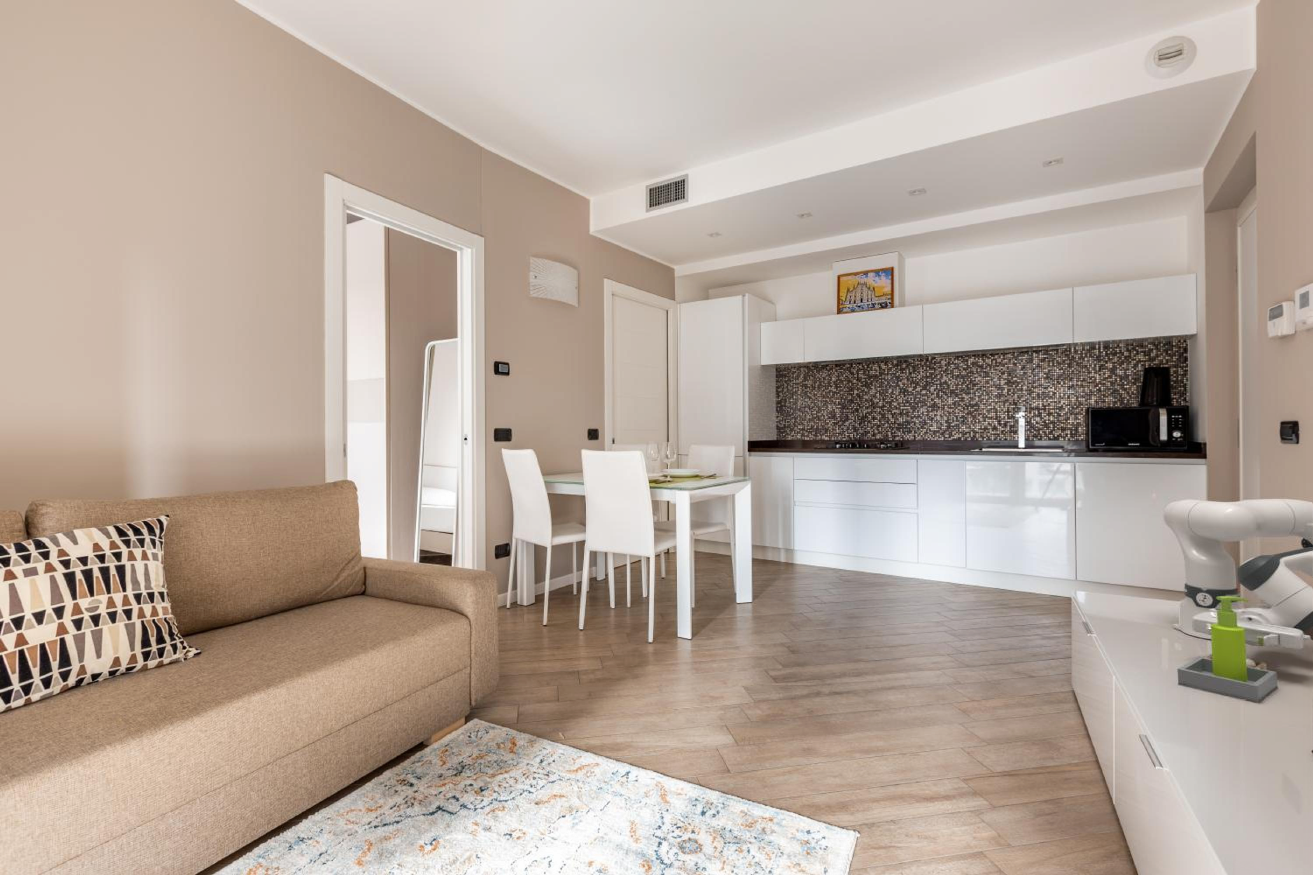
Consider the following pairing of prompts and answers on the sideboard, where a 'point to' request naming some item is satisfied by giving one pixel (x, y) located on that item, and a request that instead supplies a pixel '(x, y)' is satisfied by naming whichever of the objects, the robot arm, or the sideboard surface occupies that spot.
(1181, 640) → the sideboard surface
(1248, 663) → the pebble
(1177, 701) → the sideboard surface
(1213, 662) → the soap dispenser
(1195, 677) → the dish
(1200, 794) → the sideboard surface
